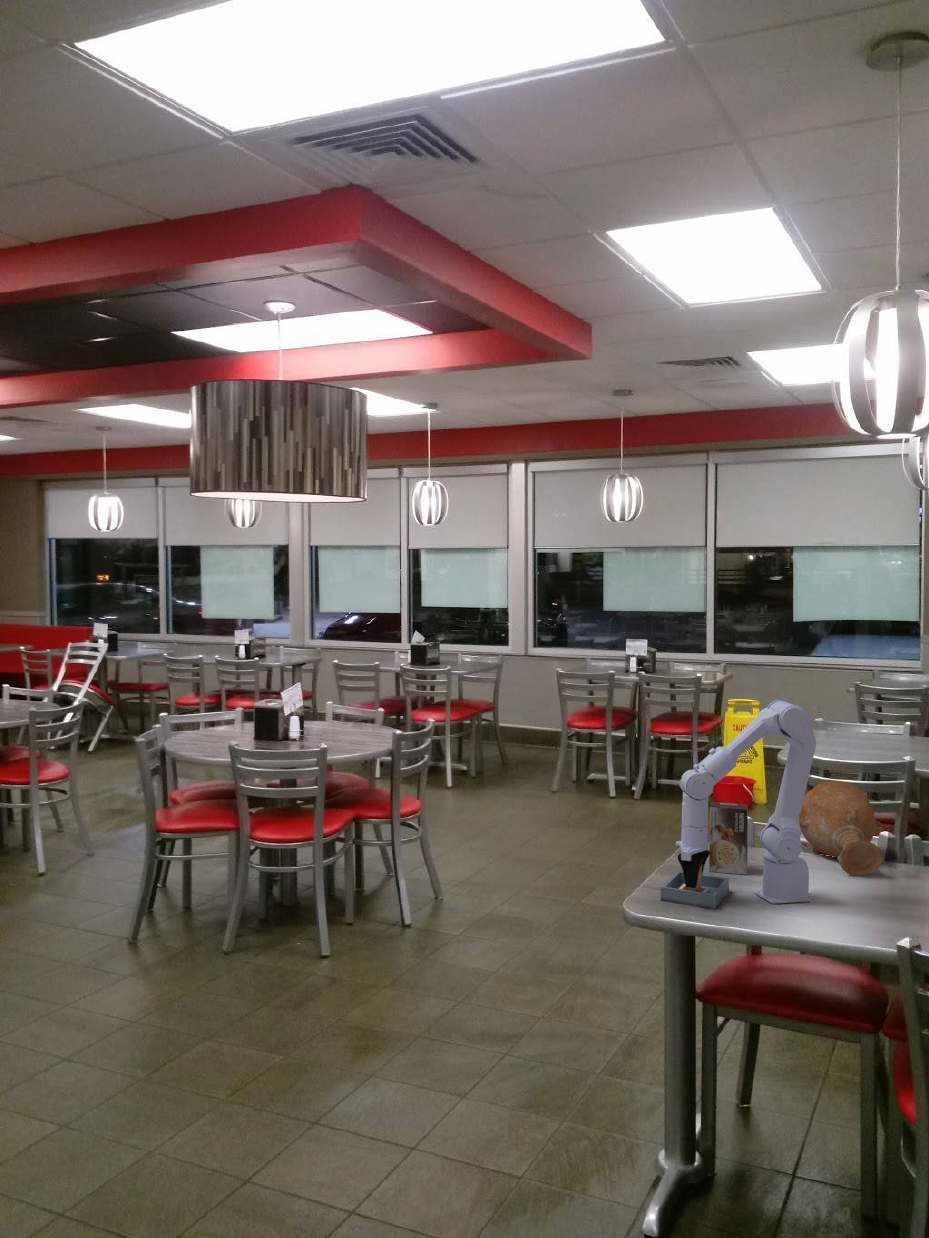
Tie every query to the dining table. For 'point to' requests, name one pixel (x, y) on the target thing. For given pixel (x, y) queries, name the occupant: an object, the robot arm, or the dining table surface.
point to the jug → (842, 826)
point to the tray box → (707, 898)
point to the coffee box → (728, 838)
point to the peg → (698, 886)
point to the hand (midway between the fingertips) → (693, 884)
